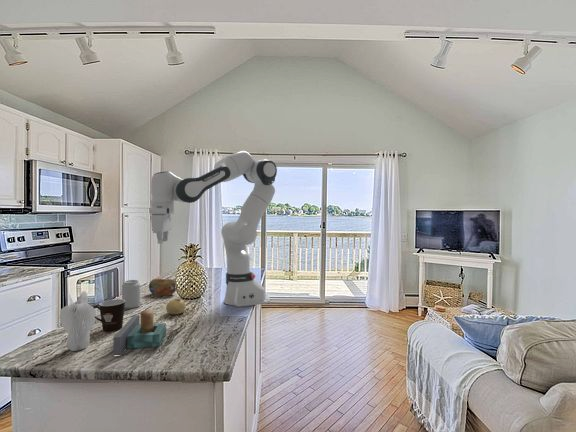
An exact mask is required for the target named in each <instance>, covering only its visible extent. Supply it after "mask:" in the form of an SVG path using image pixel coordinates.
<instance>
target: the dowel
mask: <svg viewBox="0 0 576 432" xmlns="http://www.w3.org/2000/svg"><path fill="white" fill-rule="evenodd" d="M154 324H155V322H154V310H143V311H141V312H140V325H141V333H148V332H154Z"/></svg>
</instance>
